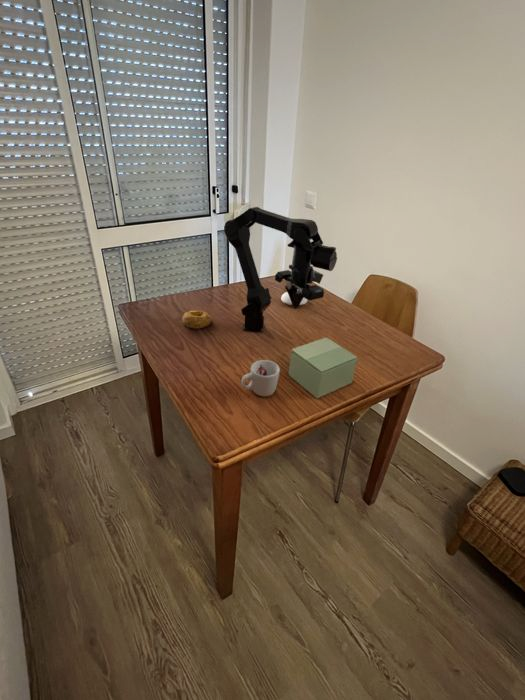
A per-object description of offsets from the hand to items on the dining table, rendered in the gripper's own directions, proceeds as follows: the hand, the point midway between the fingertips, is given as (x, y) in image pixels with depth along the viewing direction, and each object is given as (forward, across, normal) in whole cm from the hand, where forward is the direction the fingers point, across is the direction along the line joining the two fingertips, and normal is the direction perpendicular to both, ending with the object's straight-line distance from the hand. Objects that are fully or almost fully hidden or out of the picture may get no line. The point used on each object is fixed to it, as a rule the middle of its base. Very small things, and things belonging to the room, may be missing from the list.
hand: (295, 308), depth 117 cm
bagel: (+14, +27, +24) cm, 38 cm away
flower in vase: (+13, +25, -21) cm, 35 cm away
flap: (+4, -19, +6) cm, 20 cm away
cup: (+13, -18, +25) cm, 34 cm away
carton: (+12, -22, +6) cm, 26 cm away
